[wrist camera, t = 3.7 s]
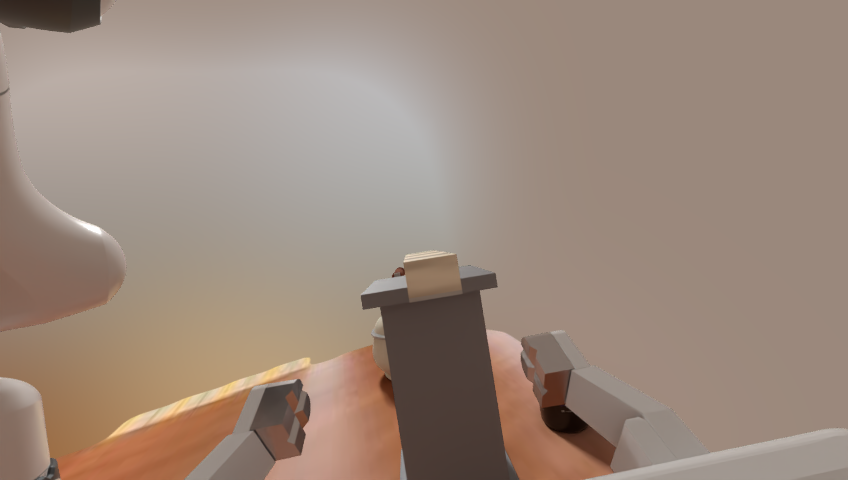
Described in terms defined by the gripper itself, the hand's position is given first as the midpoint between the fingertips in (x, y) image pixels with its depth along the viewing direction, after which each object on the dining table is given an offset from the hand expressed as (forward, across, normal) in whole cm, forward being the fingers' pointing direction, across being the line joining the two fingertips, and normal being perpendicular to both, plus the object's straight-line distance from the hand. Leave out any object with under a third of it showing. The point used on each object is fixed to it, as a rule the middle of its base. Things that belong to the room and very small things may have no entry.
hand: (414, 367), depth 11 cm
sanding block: (+19, -2, +10) cm, 22 cm away
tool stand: (+10, -2, +35) cm, 37 cm away
